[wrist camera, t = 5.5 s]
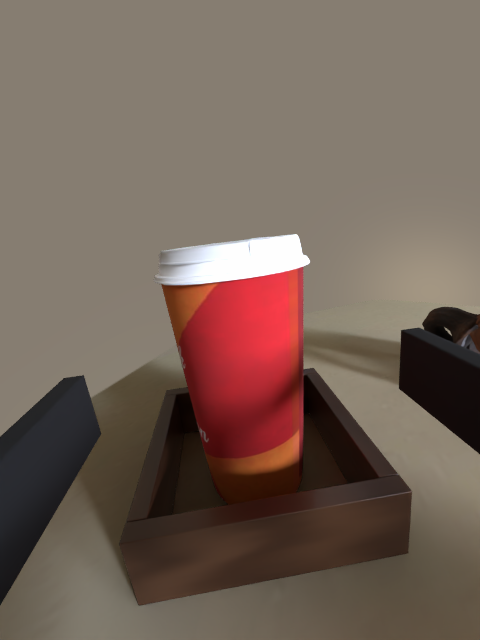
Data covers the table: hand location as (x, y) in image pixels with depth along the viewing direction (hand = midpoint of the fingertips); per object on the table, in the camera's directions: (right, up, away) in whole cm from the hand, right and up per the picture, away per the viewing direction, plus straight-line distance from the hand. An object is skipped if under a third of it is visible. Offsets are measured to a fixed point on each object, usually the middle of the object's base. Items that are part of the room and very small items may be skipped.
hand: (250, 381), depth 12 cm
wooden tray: (+1, -7, +6) cm, 9 cm away
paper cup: (+1, -7, +6) cm, 9 cm away
